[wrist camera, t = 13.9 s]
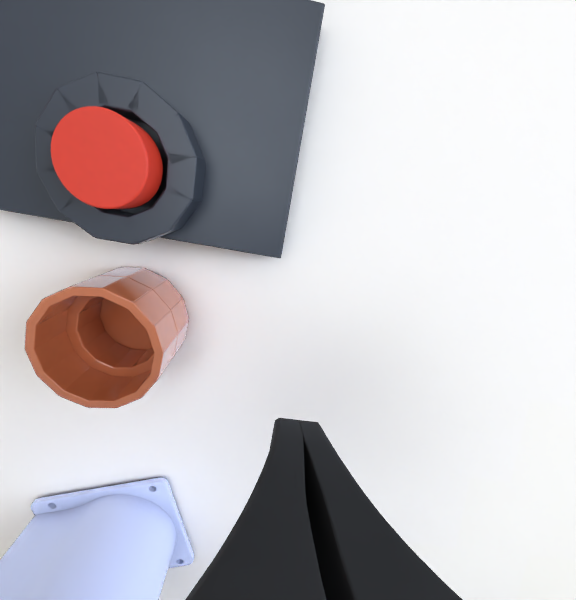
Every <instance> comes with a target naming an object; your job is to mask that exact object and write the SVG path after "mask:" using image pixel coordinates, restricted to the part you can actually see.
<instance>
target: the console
mask: <svg viewBox="0 0 576 600" xmlns="http://www.w3.org/2000/svg"><path fill="white" fill-rule="evenodd" d="M324 7H325V4H323V3H319V2H315V1H311V0H0V210H5V211H11V212H16V213H22V214H28V215H34V216H40V217H45V218H51V219H57V220H63V221H68V222H74V223H75V224H77V225H78V226H79V227H81V228H82V229H84V230H85V231H86V232H88V233H89V234H90V235H92V236H93V237H95V238H98V239H104V240H110V241H116V242H122V243H128V244H139V243H143V242H146V241H150V240H153V239H155V238H158V237H161V238H167V239H172V240H178V241H184V242H190V243H195V244H201V245H207V246H213V247H218V248H224V249H230V250H236V251H242V252H247V253H253V254H259V255H265V256H270V257H276V258H281V254H282V248H283V242H284V237H285V231H286V225H287V219H288V214H289V208H290V202H291V196H292V191H293V185H294V179H295V173H296V168H297V162H298V156H299V151H300V145H301V139H302V133H303V128H304V122H305V116H306V110H307V105H308V99H309V93H310V87H311V82H312V76H313V70H314V64H315V59H316V53H317V47H318V41H319V36H320V30H321V24H322V18H323V13H324ZM86 106H98V107H103V108H107V109H110V110H112V111H115V112H116V113H118V114H120V115H122V116H123V117H125V118H127V119H128V120H130V121H132V122H133V123H135V124H137V125H138V126H140V127H141V128H142V129H144V130H145V131H146V132H147V133H148V134H149V135H150V136H151V138H152V139H153V140H154V142H155V143H156V145H157V147H158V149H159V152H160V155H161V158H162V164H163V176H162V181H161V185H160V187H159V189H158V191H157V193H156V194H155V195H154V196H153V198H152V199H151V200H149V201H148V202H147V203H145V204H143V205H141V206H139V207H136V208H130V209H102V208H97V207H93V206H90V205H88V204H86V203H84V202H82V201H80V200H79V199H77V198H76V197H75V196H74V195H72V194H71V193H70V192H69V191H68V190H67V189H66V188H65V186H64V185H63V184H62V182H61V181H60V179H59V178H58V176H57V174H56V172H55V169H54V166H53V163H52V158H51V140H52V136H53V132H54V130H55V128H56V126H57V124H58V123H59V122H60V120H61V119H62V118H63V117H64V116H65V115H67V114H68V113H69V112H71V111H73V110H75V109H78V108H81V107H86Z"/></svg>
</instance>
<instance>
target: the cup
mask: <svg viewBox="0 0 576 600" xmlns="http://www.w3.org/2000/svg"><path fill="white" fill-rule="evenodd" d="M188 319H189V317H188V313H187V310H186V306H185V303H184V299H183V297H182V296H181V295H180V293H179V292H178V291H177V290H176V289H175V288H174V286H173V285H172V284H171V283H170V282H169V281H168V280H167V279H166V278H164V277H162V276H160V275H158V274H156V273H154V272H152V271H150V270H148V269H145V268H130V267H120V268H116V269H114V270H111V271H109V272H106V273H104V274H101V275H99V276H96V277H93V278H91V279H88V280H86V281H83V282H81V283H78V284H75V285H73V286H70V287H68V288H66V289H63V290H61V291H59V292H57V293H54V294H52V295H50V296H48V297H45V298H44V299H42V300H41V302H40V303H39V305H38V306H37V307H36V309H35V310H34V312H33V313H32V314H31V316H30V317H29V319H28V320H27V322H26V336H25V351H26V353H27V355H28V358H29V360H30V362H31V364H32V366H33V369H34V371H35V373H36V375H37V376H38V377H39V378H40V379H41V380H42V381H43V382H44V383H45V384H46V385H47V386H49V387H50V388H51V389H52V390H53V391H54V392H55V393H56V394H57V395H58V396H60V397H62V398H65V399H67V400H70V401H72V402H75V403H77V404H80V405H82V406H85V407H88V408H118V407H121V406H123V405H126V404H128V403H130V402H133V401H135V400H138V399H140V398H142V397H143V396H144V395H145V394H146V393H147V392H148V390H149V389H150V388H151V387H152V386H153V385H154V383H155V382H156V381H157V380H158V379H159V377H160V376H161V374H162V373H163V371H164V370H165V368H166V367H167V365H168V364H169V362H170V361H171V360H172V358H173V356H174V355H175V354H176V352H177V351H178V349H179V348H180V346H181V345H182V343H183V342H184V340H185V337H186V332H187V327H188V323H189V320H188Z"/></svg>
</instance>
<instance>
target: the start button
mask: <svg viewBox="0 0 576 600" xmlns="http://www.w3.org/2000/svg"><path fill="white" fill-rule="evenodd" d="M51 158H52V163H53V166H54V169H55V172H56V174H57V176H58V178H59V179H60V181H61V182H62V184H63V185H64V186H65V188H66V189H67V190H68V191H69V192H70V193H71V194H72V195H74V196H75V197H76V198H77V199H79V200H80V201H82V202H84V203H86V204H88V205H90V206H93V207H97V208H102V209H130V208H136V207H139V206H141V205H143V204H145V203H147V202H148V201H149V200H151V199H152V198H153V196H154V195H155V194H156V193H157V191H158V189H159V187H160V185H161V181H162V176H163V164H162V158H161V155H160V152H159V149H158V147H157V145H156V143H155V142H154V140H153V139H152V138H151V136H150V135H149V134H148V133H147V132H146V131H145V130H144V129H142V128H141V127H140V126H138V125H137V124H135V123H133V122H132V121H130V120H128V119H127V118H125V117H123V116H122V115H120V114H118V113H116V112H115V111H112V110H110V109H107V108H103V107H98V106H86V107H81V108H78V109H75V110H73V111H71V112H69V113H68V114H67V115H65V116H64V117H63V118H62V119H61V120H60V122H59V123H58V124H57V126H56V128H55V130H54V132H53V136H52V140H51Z"/></svg>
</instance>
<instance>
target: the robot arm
mask: <svg viewBox="0 0 576 600" xmlns="http://www.w3.org/2000/svg"><path fill="white" fill-rule="evenodd" d="M153 486H155V487H153ZM31 509H32V511H33V513H34V515H35V516H34V517H33V519H32V520H31V521H30V522H29V524H28V525H27V526H26V528H25V529H24V530H23V531H22V533H21V534H20V535H19V537H18V538H17V539H16V540H15V542H14V543H13V544H12V546H11V547H10V548H9V549H8V551H7V552H6V553H5V554H4V556H3V557H2V558H1V560H0V600H159V597H160V594H161V590H162V587H163V584H164V580H165V577H166V573H167V570H168V568H173V567H179V566H185V565H189V564H191V563H192V562H193V560H194V553H193V550H192V547H191V544H190V542H189V539H188V536H187V533H186V530H185V527H184V525H183V522H182V519H181V516H180V513H179V511H178V508H177V505H176V502H175V499H174V496H173V494H172V491H171V488H170V485H169V482H168V481H167V480H166V479H165V478H154V479H148V480H142V481H137V482H131V483H125V484H119V485H113V486H107V487H101V488H95V489H90V490H84V491H78V492H72V493H66V494H60V495H54V496H48V497H42V498H38V499H36V500H35V501H34V502H33V503H32V504H31ZM186 600H462V599H461V598H460V597H459V596H458V595H457V594H456V593H455V592H454V591H453V590H451V589H450V588H449V587H448V586H447V585H446V584H445V583H444V582H443V581H442V580H441V579H440V578H439V577H438V576H437V575H436V574H435V573H434V572H433V571H432V570H431V569H430V568H429V567H428V566H427V565H426V564H425V563H424V562H423V561H422V560H421V559H420V558H419V557H418V556H417V555H416V554H415V553H414V551H413V550H412V549H411V548H410V547H409V546H408V545H407V544H406V543H405V542H404V541H403V540H402V538H401V537H400V536H399V535H398V534H397V533H396V532H395V530H394V529H393V528H392V527H391V526H390V525H389V524H388V522H387V521H386V520H385V519H384V518H383V517H382V515H381V514H380V513H379V512H378V510H377V509H376V508H375V507H374V505H373V504H372V503H371V501H370V500H369V499H368V497H367V496H366V495H365V493H364V492H363V491H362V489H361V488H360V487H359V485H358V484H357V482H356V481H355V479H354V478H353V477H352V475H351V474H350V472H349V471H348V469H347V468H346V466H345V465H344V463H343V462H342V460H341V459H340V457H339V456H338V454H337V452H336V451H335V449H334V448H333V446H332V444H331V443H330V441H329V440H328V438H327V436H326V435H325V433H324V431H323V430H322V428H321V426H320V425H319V423H318V422H310V421H302V420H293V419H285V418H278V419H277V420H275V424H274V429H273V435H272V440H271V445H270V451H269V454H268V457H267V459H266V462H265V465H264V467H263V470H262V472H261V474H260V477H259V479H258V481H257V483H256V485H255V488H254V490H253V492H252V494H251V496H250V498H249V500H248V502H247V504H246V506H245V508H244V510H243V511H242V513H241V515H240V517H239V519H238V520H237V522H236V524H235V526H234V527H233V529H232V531H231V532H230V534H229V536H228V537H227V539H226V540H225V542H224V544H223V545H222V547H221V549H220V550H219V552H218V553H217V555H216V556H215V558H214V560H213V561H212V563H211V564H210V566H209V567H208V568H207V570H206V571H205V573H204V574H203V576H202V577H201V578H200V580H199V581H198V583H197V584H196V585H195V587H194V588H193V590H192V591H191V593H190V594H189V595H188V597H187V598H186Z"/></svg>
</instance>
